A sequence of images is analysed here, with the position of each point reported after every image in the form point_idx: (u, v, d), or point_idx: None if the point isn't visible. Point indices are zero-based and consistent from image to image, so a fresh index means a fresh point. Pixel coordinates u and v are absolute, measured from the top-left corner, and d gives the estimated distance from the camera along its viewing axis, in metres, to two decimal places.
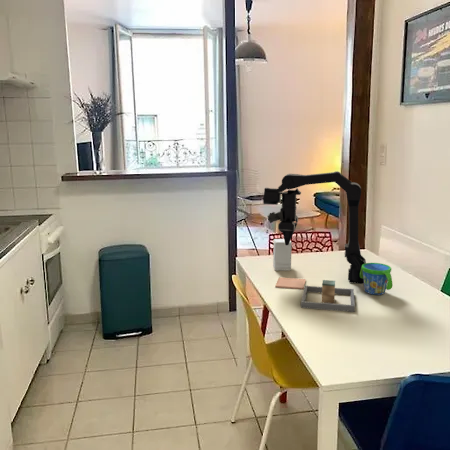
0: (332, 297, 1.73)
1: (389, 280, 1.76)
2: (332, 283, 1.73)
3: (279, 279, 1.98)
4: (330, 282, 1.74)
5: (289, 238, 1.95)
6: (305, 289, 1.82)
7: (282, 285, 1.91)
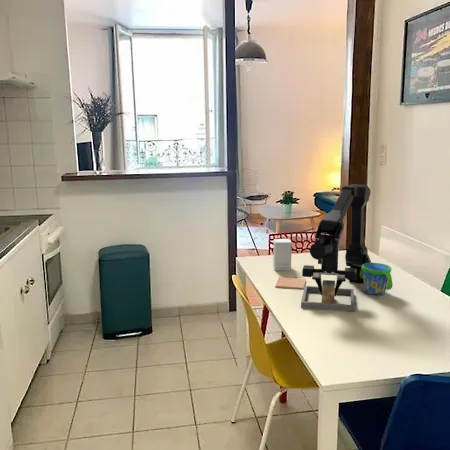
0: (332, 297, 1.73)
1: (389, 280, 1.76)
2: (332, 283, 1.73)
3: (279, 279, 1.98)
4: (330, 282, 1.74)
5: (319, 287, 1.75)
6: (305, 289, 1.82)
7: (282, 285, 1.91)
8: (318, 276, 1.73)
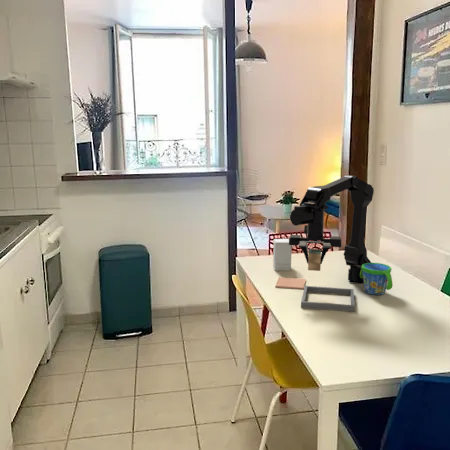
0: (318, 265, 1.78)
1: (389, 280, 1.76)
2: (318, 251, 1.78)
3: (279, 279, 1.98)
4: (316, 250, 1.79)
5: (305, 255, 1.80)
6: (305, 289, 1.82)
7: (282, 285, 1.91)
8: (304, 244, 1.78)
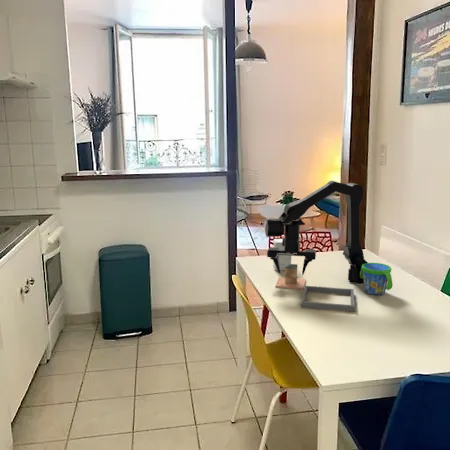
0: (294, 279, 1.92)
1: (389, 280, 1.76)
2: (294, 266, 1.92)
3: (279, 279, 1.98)
4: (292, 265, 1.93)
5: (277, 266, 1.94)
6: (305, 289, 1.82)
7: (282, 285, 1.91)
8: (276, 256, 1.92)
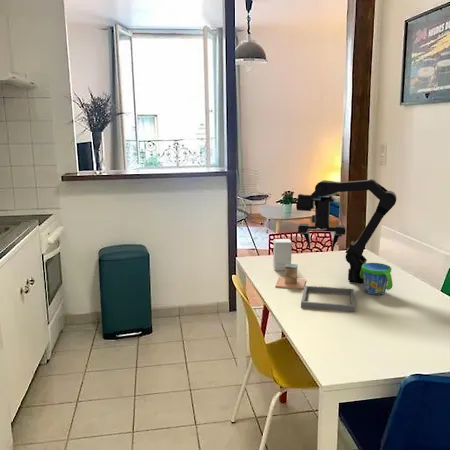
0: (294, 279, 1.92)
1: (389, 280, 1.76)
2: (294, 266, 1.92)
3: (279, 279, 1.98)
4: (292, 265, 1.93)
5: (307, 241, 2.00)
6: (305, 289, 1.82)
7: (282, 285, 1.91)
8: (306, 232, 1.98)
